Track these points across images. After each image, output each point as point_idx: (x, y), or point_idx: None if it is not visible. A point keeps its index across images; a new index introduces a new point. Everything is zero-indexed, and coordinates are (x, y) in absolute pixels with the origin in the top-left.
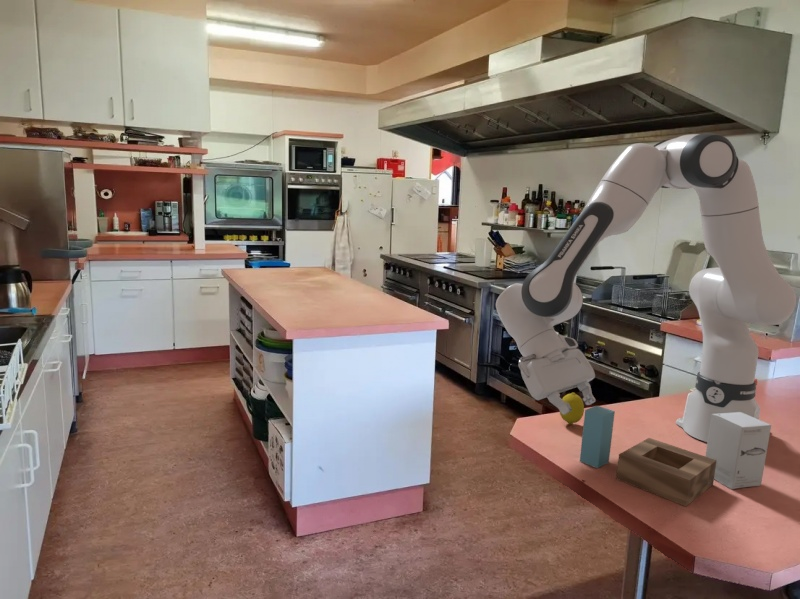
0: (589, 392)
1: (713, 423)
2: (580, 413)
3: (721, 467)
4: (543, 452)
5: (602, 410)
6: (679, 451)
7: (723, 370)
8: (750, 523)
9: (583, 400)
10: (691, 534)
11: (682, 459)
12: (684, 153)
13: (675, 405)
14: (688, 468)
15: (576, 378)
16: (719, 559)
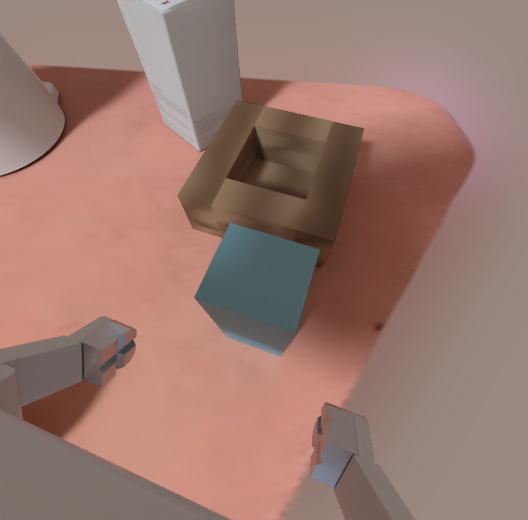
0: (67, 348)
1: (178, 37)
2: None
3: (223, 110)
4: (283, 475)
5: (252, 263)
6: (230, 144)
7: None
8: (336, 111)
9: (109, 379)
10: (427, 161)
11: (247, 147)
12: None
13: None
14: (309, 131)
15: (15, 478)
16: (461, 137)
